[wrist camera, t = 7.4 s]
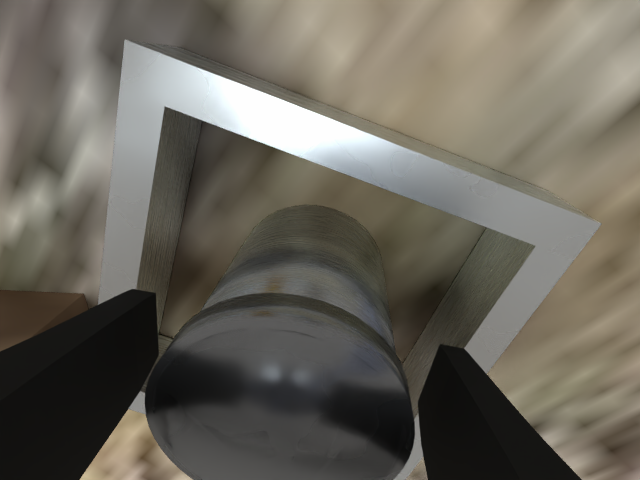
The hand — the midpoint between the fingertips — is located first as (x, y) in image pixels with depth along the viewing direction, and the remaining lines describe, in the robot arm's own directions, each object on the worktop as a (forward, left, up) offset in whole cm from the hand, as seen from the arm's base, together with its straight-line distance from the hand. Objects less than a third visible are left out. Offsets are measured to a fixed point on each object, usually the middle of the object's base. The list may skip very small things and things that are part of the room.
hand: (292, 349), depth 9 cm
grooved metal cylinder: (0, 0, -3) cm, 4 cm away
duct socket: (0, 0, -3) cm, 3 cm away
